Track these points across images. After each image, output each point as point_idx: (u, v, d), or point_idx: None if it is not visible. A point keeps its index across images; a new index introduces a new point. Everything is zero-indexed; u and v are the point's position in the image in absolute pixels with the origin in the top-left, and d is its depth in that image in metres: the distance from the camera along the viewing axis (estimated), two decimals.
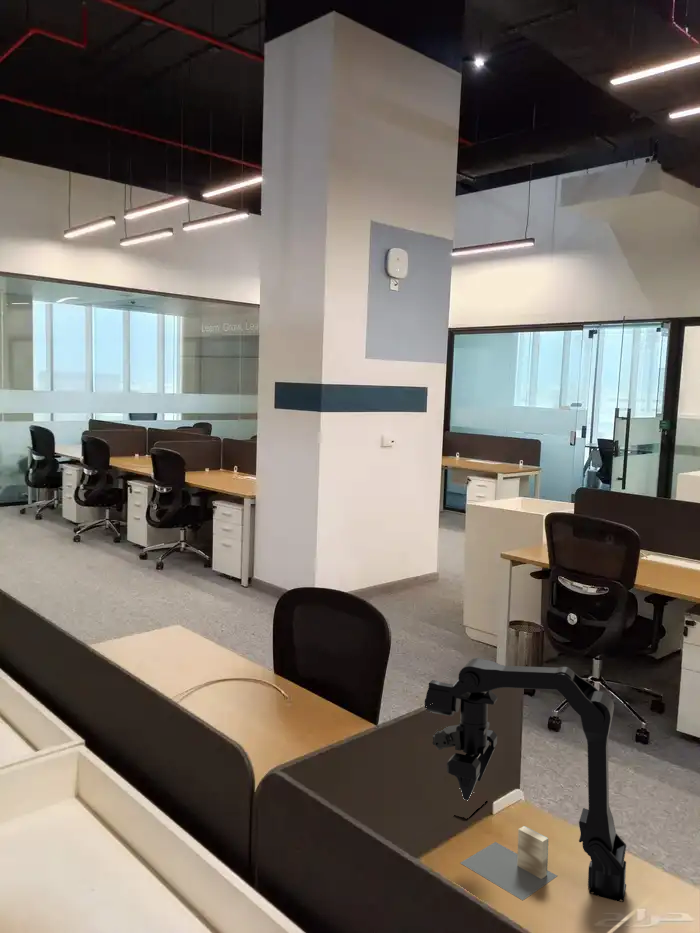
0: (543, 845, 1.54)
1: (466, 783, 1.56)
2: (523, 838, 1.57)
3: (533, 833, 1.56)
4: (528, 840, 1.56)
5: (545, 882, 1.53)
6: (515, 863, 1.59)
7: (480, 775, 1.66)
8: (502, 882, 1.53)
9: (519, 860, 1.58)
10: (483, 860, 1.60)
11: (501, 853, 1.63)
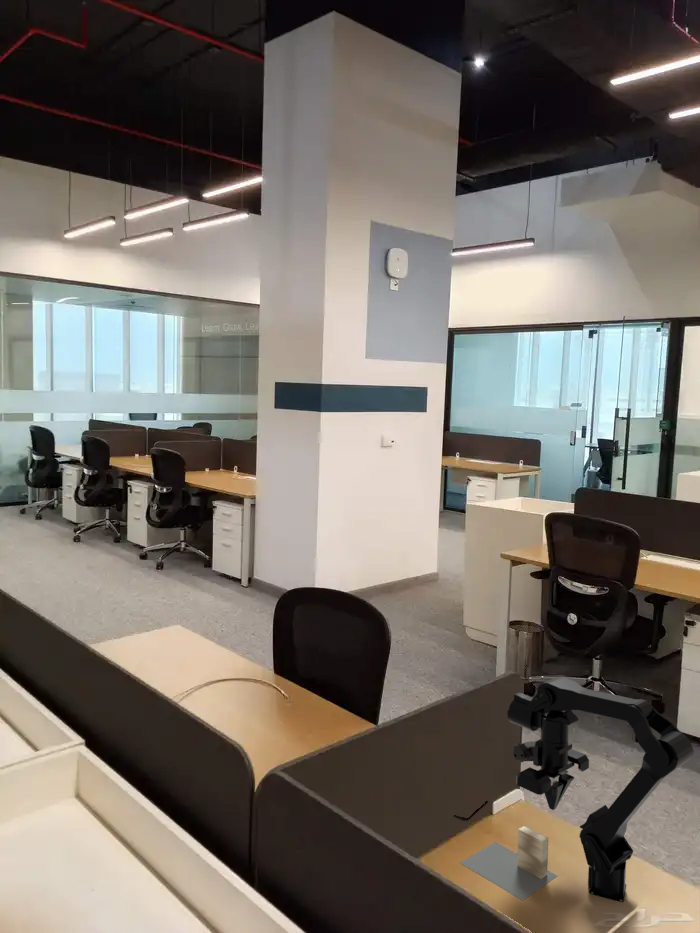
0: (543, 845, 1.54)
1: (550, 792, 1.59)
2: (523, 838, 1.57)
3: (533, 833, 1.56)
4: (528, 840, 1.56)
5: (545, 882, 1.53)
6: (515, 863, 1.59)
7: None
8: (502, 882, 1.53)
9: (519, 860, 1.58)
10: (483, 860, 1.60)
11: (501, 853, 1.63)
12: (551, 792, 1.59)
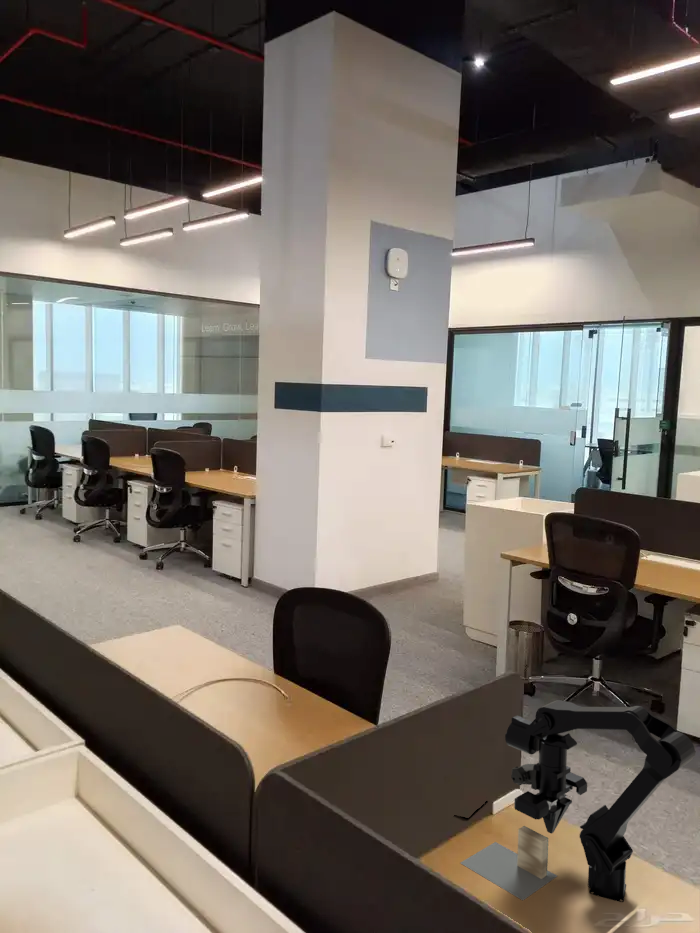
0: (543, 845, 1.54)
1: (548, 816, 1.59)
2: (523, 838, 1.57)
3: (533, 833, 1.56)
4: (528, 840, 1.56)
5: (545, 882, 1.53)
6: (515, 863, 1.59)
7: None
8: (502, 882, 1.53)
9: (519, 860, 1.58)
10: (483, 860, 1.60)
11: (501, 853, 1.63)
12: (549, 816, 1.59)
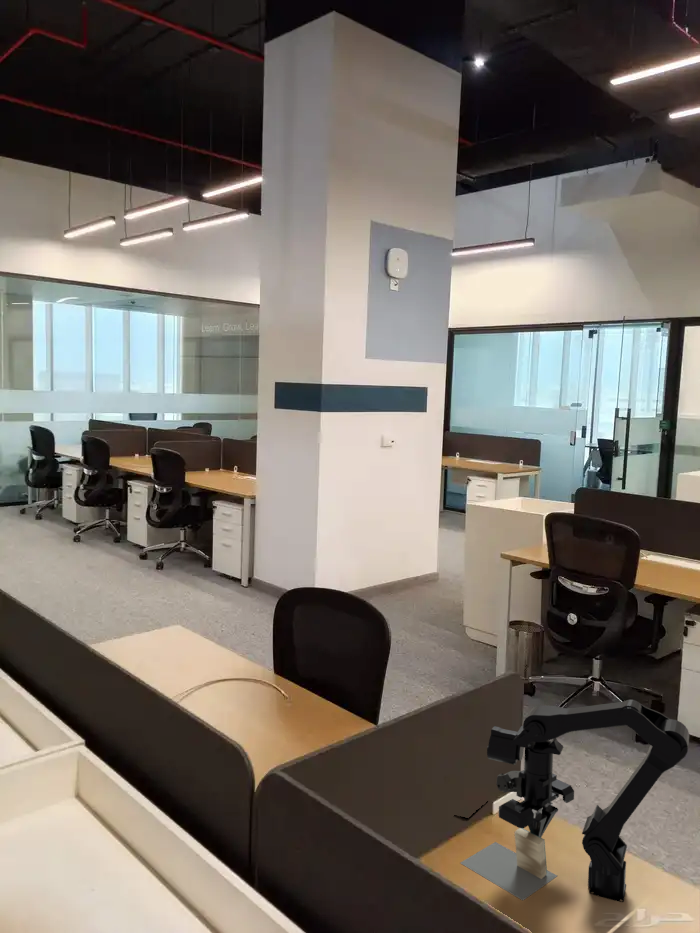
0: (540, 847, 1.53)
1: (533, 824, 1.56)
2: (520, 840, 1.56)
3: (529, 835, 1.55)
4: (524, 843, 1.56)
5: (545, 882, 1.53)
6: (515, 863, 1.59)
7: None
8: (502, 882, 1.53)
9: (518, 861, 1.58)
10: (483, 860, 1.60)
11: (501, 853, 1.63)
12: (534, 824, 1.56)
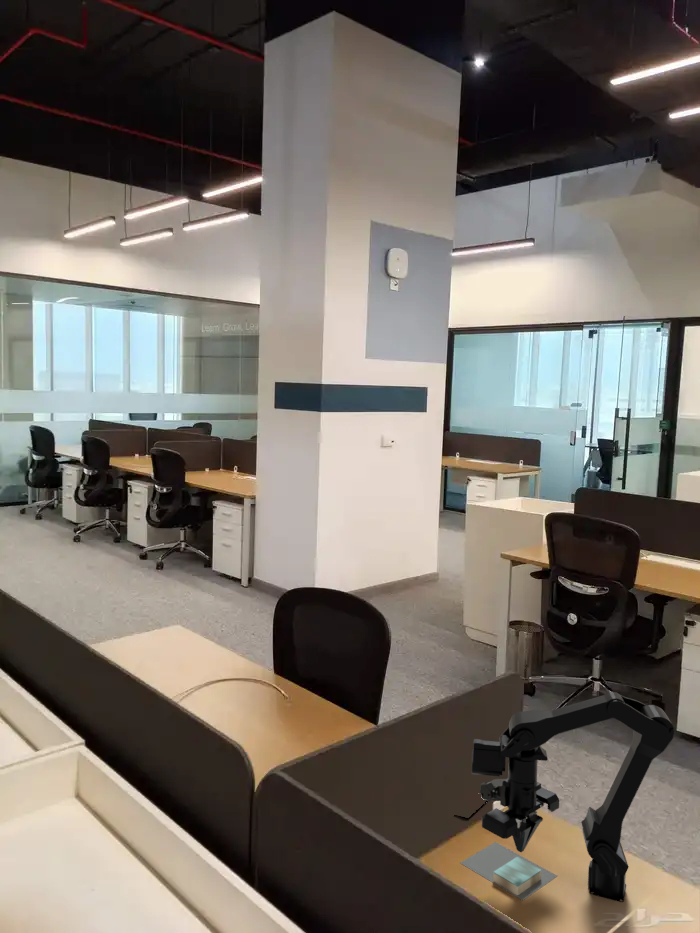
0: (520, 891, 1.49)
1: (518, 834, 1.52)
2: None
3: (505, 883, 1.51)
4: None
5: (545, 882, 1.53)
6: None
7: None
8: None
9: None
10: (483, 860, 1.60)
11: (501, 853, 1.63)
12: (518, 834, 1.52)
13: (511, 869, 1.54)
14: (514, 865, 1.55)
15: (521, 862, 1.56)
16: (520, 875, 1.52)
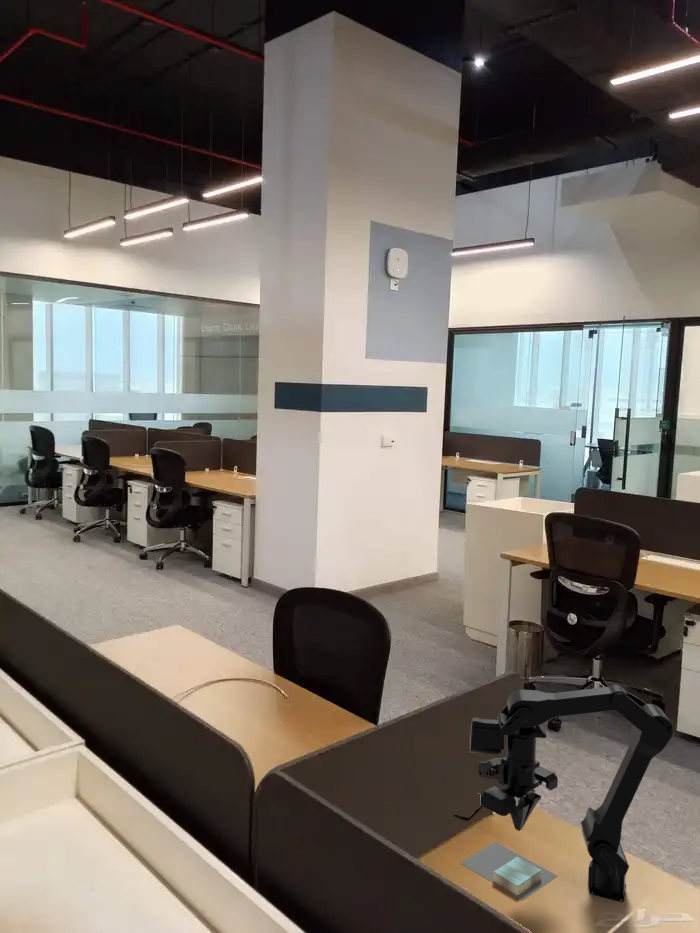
0: (520, 891, 1.49)
1: (516, 812, 1.51)
2: None
3: (505, 883, 1.51)
4: None
5: (545, 882, 1.53)
6: None
7: None
8: None
9: None
10: (483, 860, 1.60)
11: (501, 853, 1.63)
12: (517, 812, 1.51)
13: (511, 869, 1.54)
14: (514, 865, 1.55)
15: (521, 862, 1.56)
16: (520, 875, 1.52)
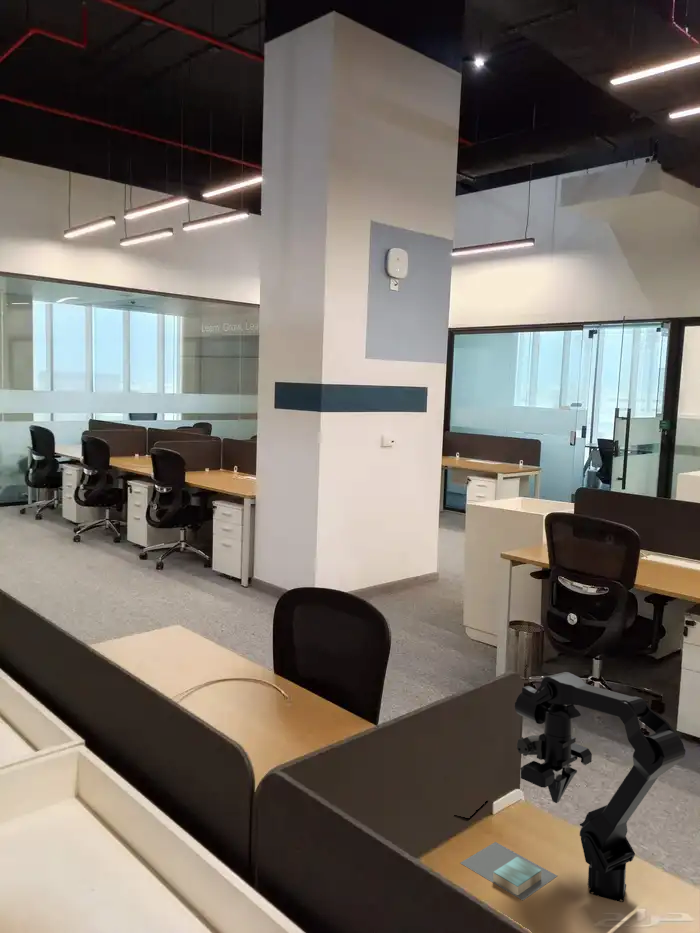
0: (520, 891, 1.49)
1: (553, 785, 1.61)
2: None
3: (505, 883, 1.51)
4: None
5: (545, 882, 1.53)
6: None
7: None
8: None
9: None
10: (483, 860, 1.60)
11: (501, 853, 1.63)
12: (554, 785, 1.61)
13: (511, 869, 1.54)
14: (514, 865, 1.55)
15: (521, 862, 1.56)
16: (520, 875, 1.52)
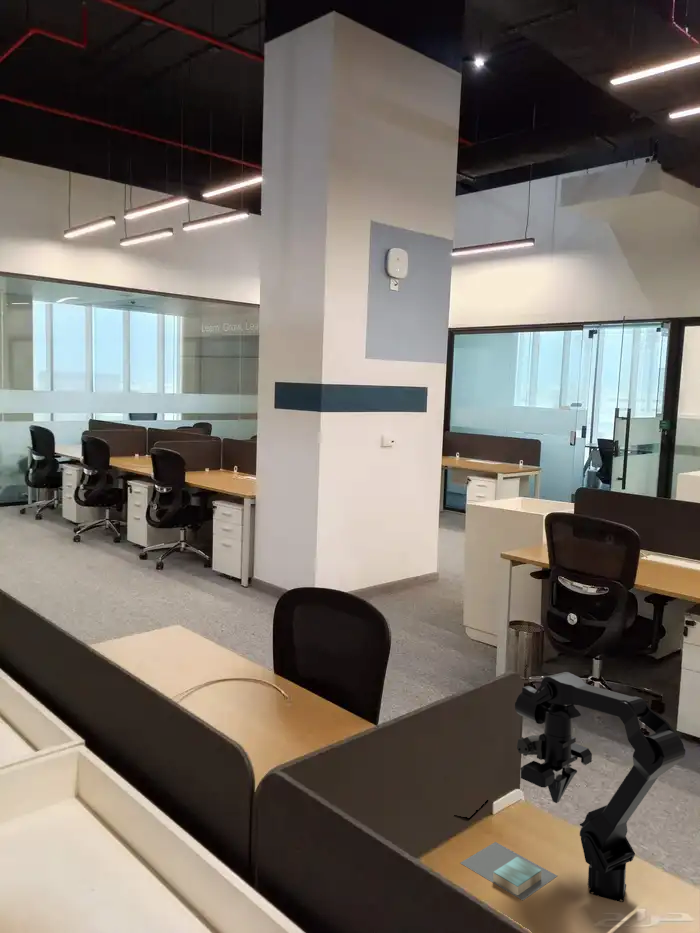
0: (520, 891, 1.49)
1: (553, 785, 1.61)
2: None
3: (505, 883, 1.51)
4: None
5: (545, 882, 1.53)
6: None
7: None
8: None
9: None
10: (483, 860, 1.60)
11: (501, 853, 1.63)
12: (554, 785, 1.61)
13: (511, 869, 1.54)
14: (514, 865, 1.55)
15: (521, 862, 1.56)
16: (520, 875, 1.52)
